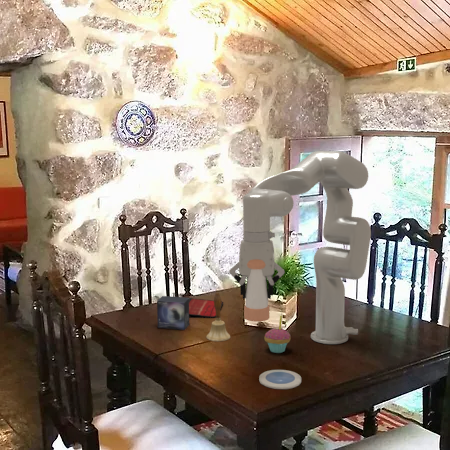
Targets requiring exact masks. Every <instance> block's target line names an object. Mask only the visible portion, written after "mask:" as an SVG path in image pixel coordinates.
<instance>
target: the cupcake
mask: <svg viewBox="0 0 450 450" xmlns="http://www.w3.org/2000/svg"><path fill="white" fill-rule="evenodd" d="M282 314H283V313H281V314H280V315H279V321H278V322H279V327H278V328H277V327H276V328H274V327H273V328H271V329H270V330H268V331H266V332H265V334H264V340H263V341H265V342H266V343H267V345H268V348H269V351H270V352H271V353H276V354H281V353H283V352H285V351H286V347H287V345H288V344H289V343H290V341H291V340H292V339H291V335H292V334H291V333H290V332H289V331H287V330H286V329H283V328H282V321H283V319H282V318H283V315H282Z"/></svg>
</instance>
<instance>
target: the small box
mask: <svg viewBox="0 0 450 450" xmlns="http://www.w3.org/2000/svg"><path fill="white" fill-rule="evenodd" d="M189 298H190V297H185V296H184V297H183V296H182V297H181V296H167V295H161V297H159V298H158V299H157V300H156V309H157V316H156V317H157V328H158V329H166V330H167V329H170V330H178V331H181V330H182V331H185V330H187V328H188V327H189V326H190V324H191V323H190V318H189Z"/></svg>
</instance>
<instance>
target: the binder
mask: <svg viewBox="0 0 450 450" xmlns="http://www.w3.org/2000/svg"><path fill="white" fill-rule="evenodd" d="M188 298H189V319H194V318H195V319H216V310H215V306H214V299H213V300H210V299H203V298H193V297H191V298H190V297H188ZM223 305H224V301H222V300H221V308H222V307H223Z"/></svg>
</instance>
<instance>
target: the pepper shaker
mask: <svg viewBox="0 0 450 450" xmlns="http://www.w3.org/2000/svg"><path fill="white" fill-rule="evenodd" d="M265 265H266V264H265V262H264V261H263V260H259V259H253V260H250V261H249V262H248V263H247V266H248V268H250V269H252V270H251V273H250V276H247V277H246V293H245V300H244V301H245V305H244V307H243V309H244V311H243V312H244V315H243V316H244V317H243V318H244V320H246V321H249V322H256V323H257V322H265V321H268V320H269V319H270V306H269V298H268V284H267V283H268V282H267V277H266V276H263V274H262V270H261V269H263V268H264V267H265Z"/></svg>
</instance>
